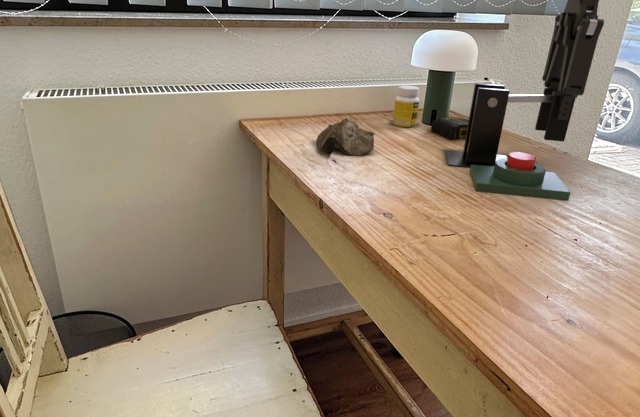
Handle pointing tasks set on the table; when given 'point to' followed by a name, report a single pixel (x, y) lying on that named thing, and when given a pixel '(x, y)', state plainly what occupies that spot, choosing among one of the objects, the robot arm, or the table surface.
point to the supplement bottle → (406, 107)
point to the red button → (521, 161)
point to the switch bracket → (482, 128)
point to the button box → (518, 181)
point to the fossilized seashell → (346, 138)
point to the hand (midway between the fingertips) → (548, 134)
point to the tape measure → (450, 127)
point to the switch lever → (531, 98)
